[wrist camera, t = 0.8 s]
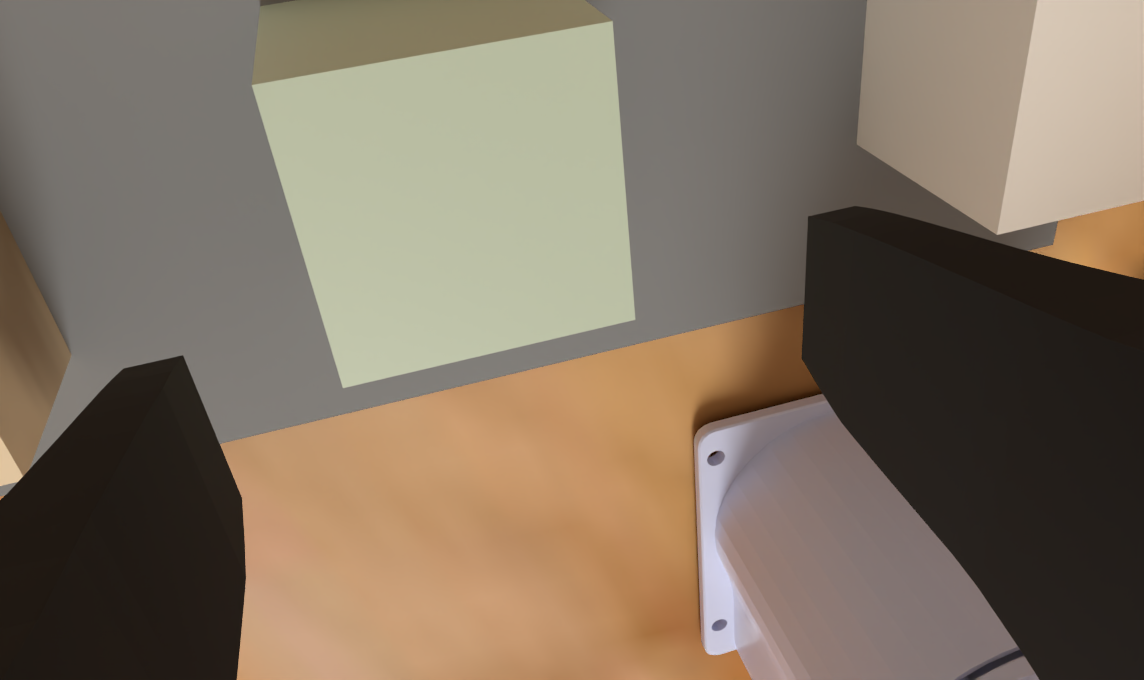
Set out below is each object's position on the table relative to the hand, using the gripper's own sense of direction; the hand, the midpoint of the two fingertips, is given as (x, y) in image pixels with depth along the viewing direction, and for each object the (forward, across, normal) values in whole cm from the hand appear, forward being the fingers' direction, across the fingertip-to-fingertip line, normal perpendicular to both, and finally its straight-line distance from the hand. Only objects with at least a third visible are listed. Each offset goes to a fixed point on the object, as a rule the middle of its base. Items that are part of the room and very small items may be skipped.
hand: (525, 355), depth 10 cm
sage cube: (+9, 0, 0) cm, 9 cm away
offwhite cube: (+9, -12, 0) cm, 15 cm away
